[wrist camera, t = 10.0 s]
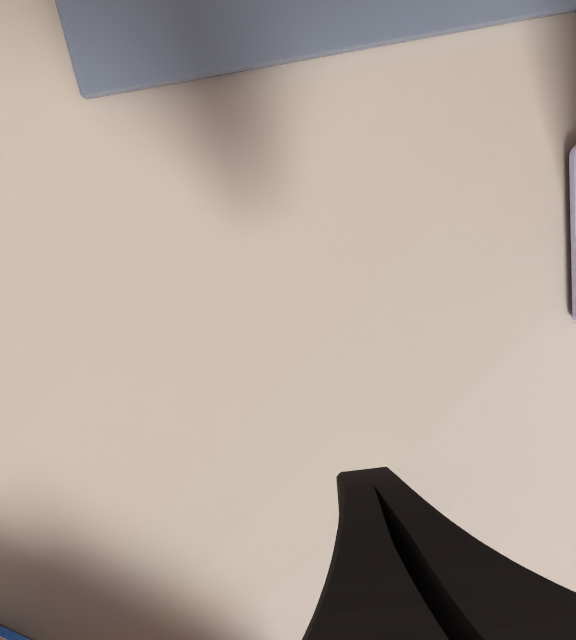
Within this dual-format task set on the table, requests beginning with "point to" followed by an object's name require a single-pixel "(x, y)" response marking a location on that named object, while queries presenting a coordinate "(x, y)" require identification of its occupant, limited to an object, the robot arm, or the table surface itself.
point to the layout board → (253, 33)
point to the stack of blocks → (10, 635)
